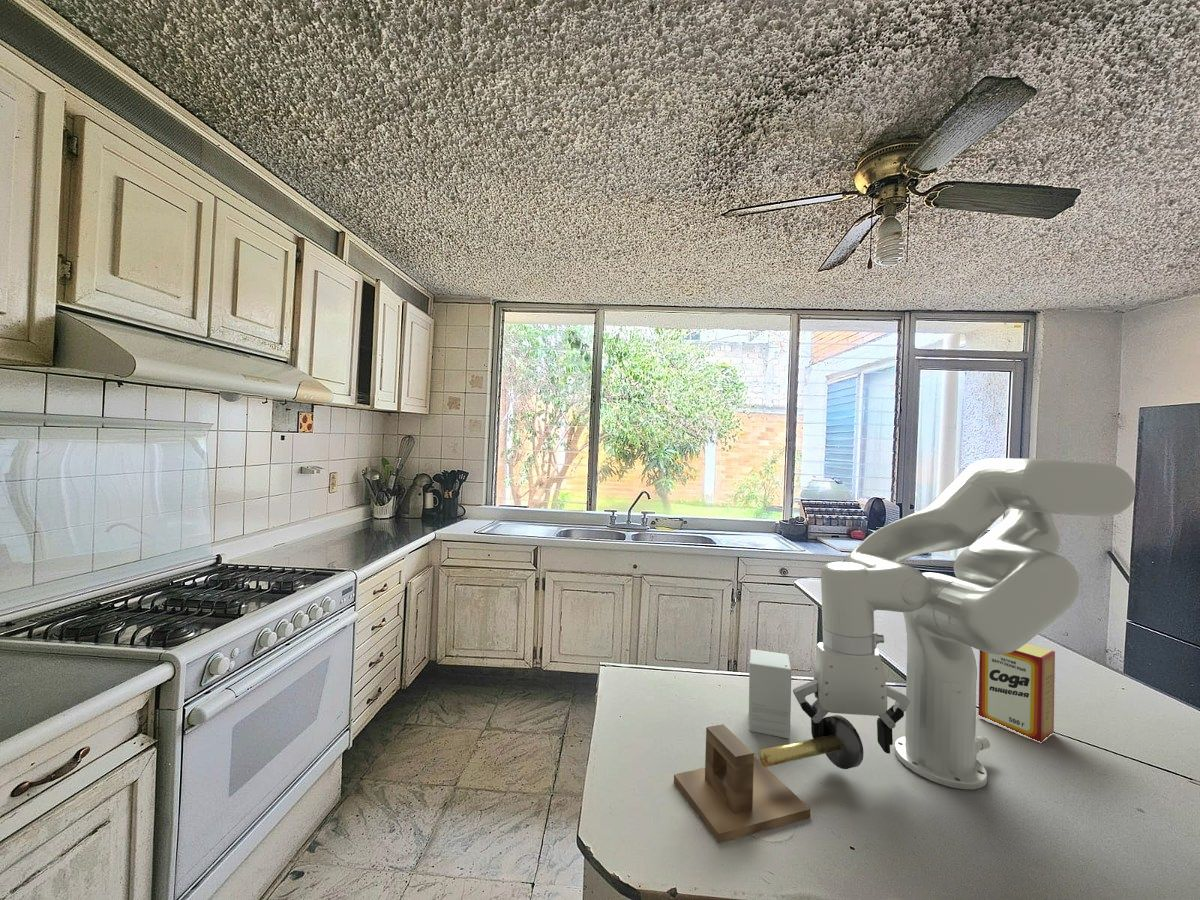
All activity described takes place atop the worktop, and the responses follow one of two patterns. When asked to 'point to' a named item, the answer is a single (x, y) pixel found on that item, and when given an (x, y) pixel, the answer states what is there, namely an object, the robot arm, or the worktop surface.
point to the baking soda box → (1019, 690)
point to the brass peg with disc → (821, 746)
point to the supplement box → (769, 693)
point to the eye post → (737, 790)
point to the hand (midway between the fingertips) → (851, 745)
